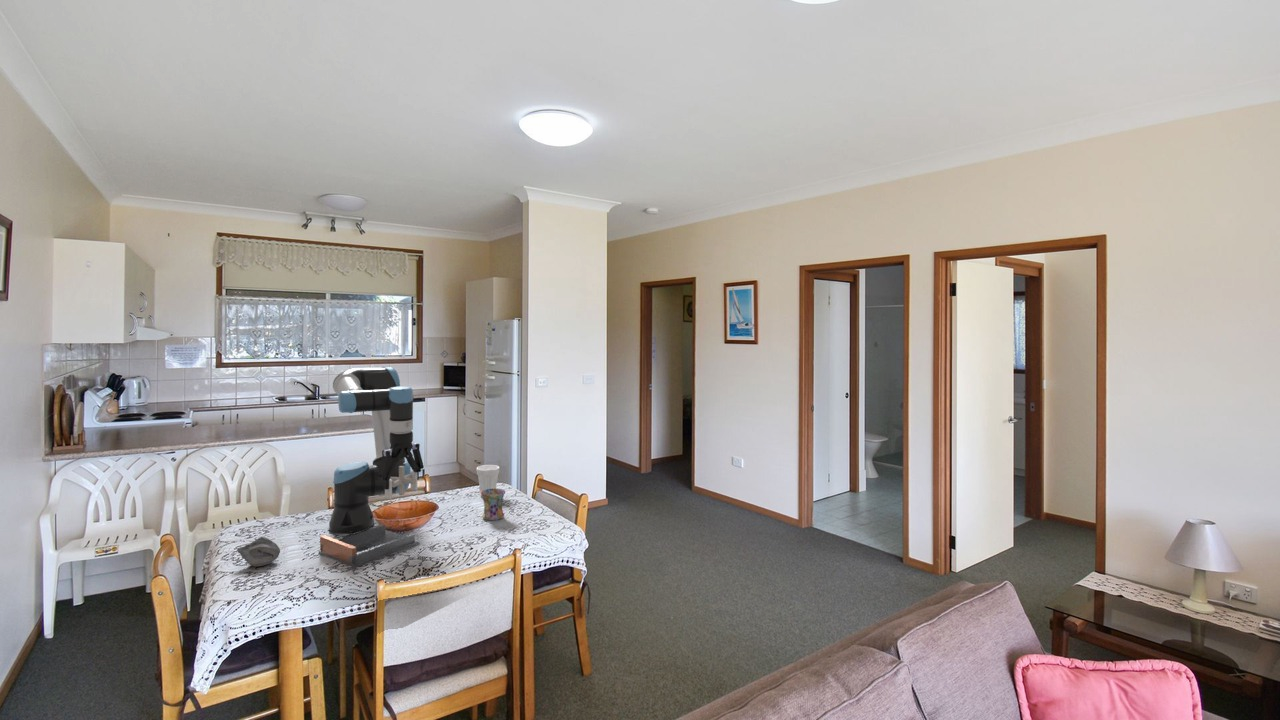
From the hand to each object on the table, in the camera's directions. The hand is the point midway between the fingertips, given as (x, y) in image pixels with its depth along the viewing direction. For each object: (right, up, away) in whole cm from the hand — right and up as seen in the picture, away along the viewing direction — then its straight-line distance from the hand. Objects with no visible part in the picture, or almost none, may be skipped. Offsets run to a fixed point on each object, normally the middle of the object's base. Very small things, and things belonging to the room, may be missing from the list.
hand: (401, 493), depth 206 cm
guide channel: (-8, -17, -6) cm, 20 cm away
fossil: (-37, -18, -20) cm, 46 cm away
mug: (+25, -16, +27) cm, 40 cm away
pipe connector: (0, 0, 0) cm, 0 cm away
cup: (+16, -14, +54) cm, 58 cm away
